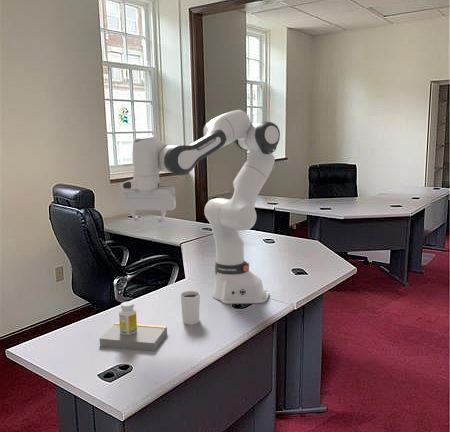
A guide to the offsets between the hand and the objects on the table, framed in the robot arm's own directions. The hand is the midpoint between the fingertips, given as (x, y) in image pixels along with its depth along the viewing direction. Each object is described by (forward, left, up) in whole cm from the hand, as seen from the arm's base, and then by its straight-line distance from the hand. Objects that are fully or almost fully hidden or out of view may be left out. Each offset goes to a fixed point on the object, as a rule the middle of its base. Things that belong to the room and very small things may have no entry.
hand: (148, 222), depth 163 cm
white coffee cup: (-16, +5, -34) cm, 38 cm away
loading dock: (-2, +22, -34) cm, 41 cm away
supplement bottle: (0, +22, -32) cm, 39 cm away
